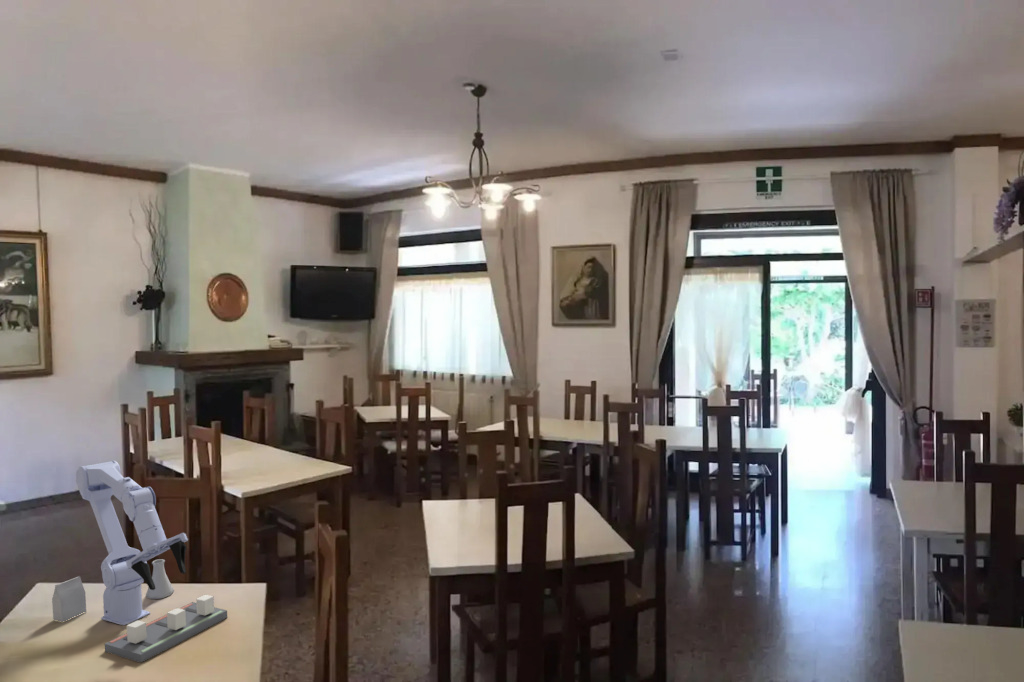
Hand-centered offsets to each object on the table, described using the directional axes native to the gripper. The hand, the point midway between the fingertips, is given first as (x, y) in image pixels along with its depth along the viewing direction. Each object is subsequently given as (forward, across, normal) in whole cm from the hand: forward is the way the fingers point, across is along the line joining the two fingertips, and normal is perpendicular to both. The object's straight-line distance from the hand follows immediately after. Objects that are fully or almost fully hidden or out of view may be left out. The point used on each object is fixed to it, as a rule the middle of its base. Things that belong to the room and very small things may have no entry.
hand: (168, 580), depth 178 cm
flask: (-8, -13, +36) cm, 39 cm away
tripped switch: (+8, -12, +5) cm, 16 cm away
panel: (+9, -8, +13) cm, 18 cm away
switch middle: (+9, -5, +11) cm, 15 cm away
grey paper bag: (-11, -33, +25) cm, 42 cm away
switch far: (+7, +1, +18) cm, 19 cm away
